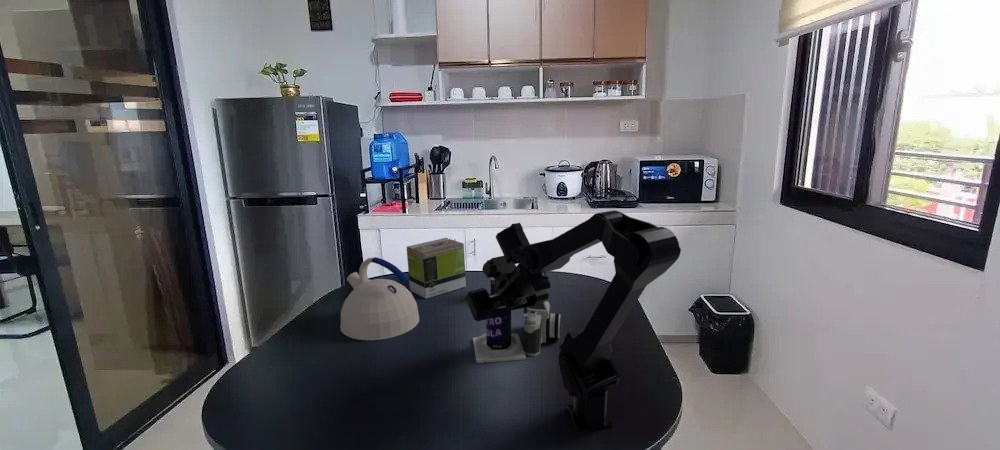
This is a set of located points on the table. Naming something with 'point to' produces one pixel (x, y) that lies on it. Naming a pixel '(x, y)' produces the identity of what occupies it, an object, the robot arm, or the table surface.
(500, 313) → the beverage can
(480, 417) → the table surface
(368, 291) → the kettle
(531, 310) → the camera
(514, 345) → the mount
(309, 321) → the table surface
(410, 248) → the tea box
